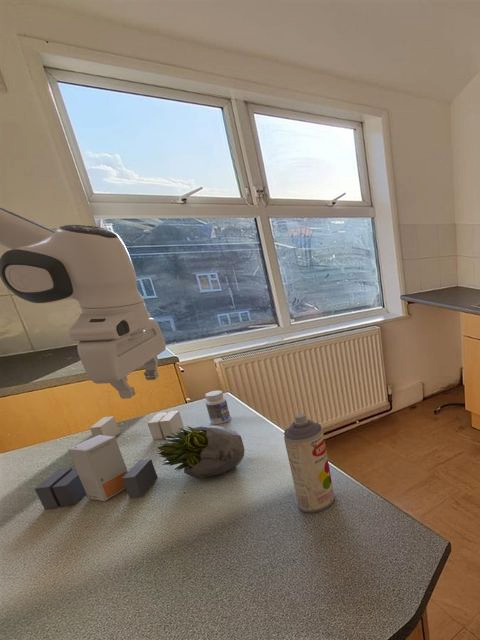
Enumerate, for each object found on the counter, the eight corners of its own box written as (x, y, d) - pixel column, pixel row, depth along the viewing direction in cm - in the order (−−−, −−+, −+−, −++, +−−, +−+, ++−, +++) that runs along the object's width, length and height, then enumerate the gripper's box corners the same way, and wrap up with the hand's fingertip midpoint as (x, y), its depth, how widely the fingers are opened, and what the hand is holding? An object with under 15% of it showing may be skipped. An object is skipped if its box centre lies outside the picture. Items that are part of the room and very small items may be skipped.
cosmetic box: (105, 502, 87) (84, 451, 83) (88, 499, 88) (65, 449, 83) (134, 484, 93) (115, 436, 88) (117, 482, 94) (98, 434, 89)
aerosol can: (329, 512, 86) (313, 423, 78) (293, 514, 85) (273, 424, 77) (338, 491, 92) (324, 407, 84) (305, 492, 91) (288, 408, 84)
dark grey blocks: (44, 509, 85) (34, 488, 83) (67, 488, 91) (58, 468, 89) (142, 497, 89) (134, 476, 87) (158, 477, 95) (151, 458, 93)
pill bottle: (227, 423, 119) (220, 395, 116) (208, 425, 118) (200, 397, 115) (233, 415, 123) (226, 389, 120) (214, 417, 122) (207, 390, 119)
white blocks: (96, 445, 107) (89, 427, 105) (110, 434, 113) (103, 417, 111) (174, 437, 112) (168, 420, 110) (184, 426, 117) (178, 410, 115)
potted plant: (246, 466, 94) (158, 474, 84) (235, 480, 103) (154, 489, 93) (243, 414, 98) (159, 416, 88) (233, 432, 106) (154, 435, 96)
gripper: (128, 307, 88) (148, 370, 93) (60, 334, 70) (91, 410, 75) (164, 306, 89) (182, 368, 95) (107, 332, 71) (133, 407, 77)
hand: (141, 387), depth 85 cm, fingers open, 8 cm apart
